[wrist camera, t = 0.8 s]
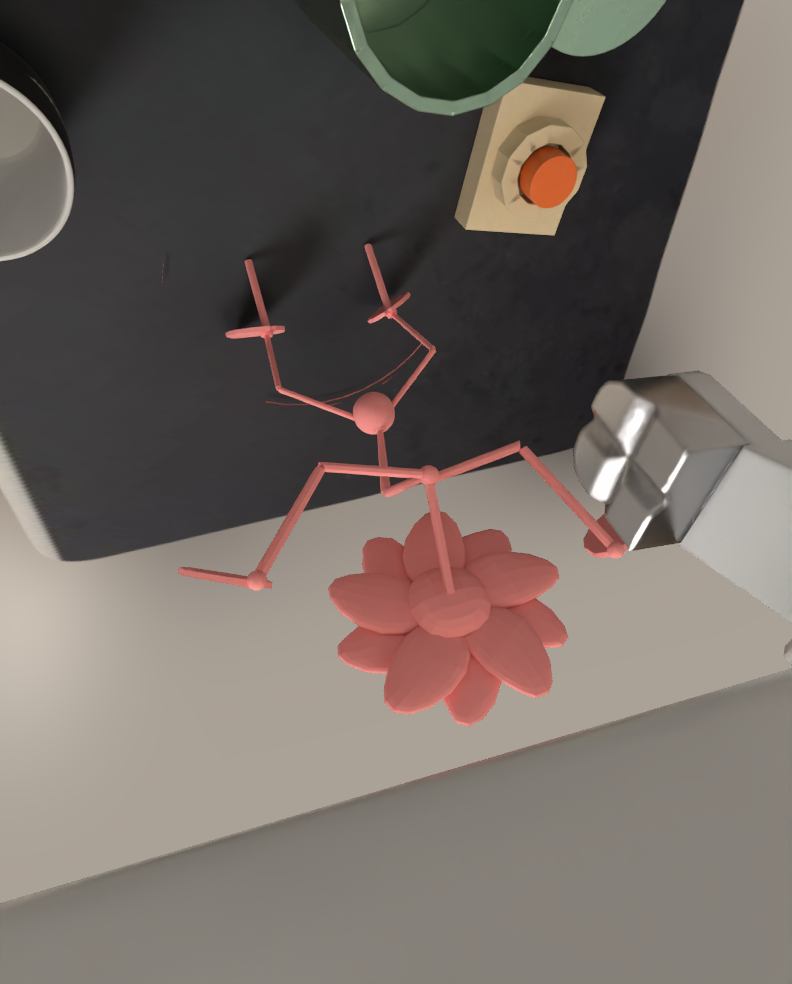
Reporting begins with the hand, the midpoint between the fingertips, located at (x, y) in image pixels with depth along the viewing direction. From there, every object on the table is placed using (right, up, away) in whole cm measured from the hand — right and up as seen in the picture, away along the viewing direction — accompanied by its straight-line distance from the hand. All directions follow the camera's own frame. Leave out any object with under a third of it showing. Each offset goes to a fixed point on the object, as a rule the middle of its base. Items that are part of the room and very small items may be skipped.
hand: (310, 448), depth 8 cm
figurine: (-6, +13, +47) cm, 49 cm away
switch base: (+10, +25, +43) cm, 50 cm away
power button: (+11, +22, +40) cm, 47 cm away
